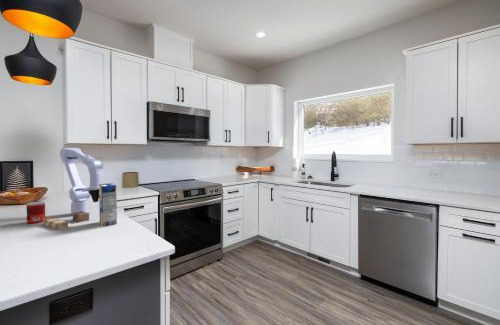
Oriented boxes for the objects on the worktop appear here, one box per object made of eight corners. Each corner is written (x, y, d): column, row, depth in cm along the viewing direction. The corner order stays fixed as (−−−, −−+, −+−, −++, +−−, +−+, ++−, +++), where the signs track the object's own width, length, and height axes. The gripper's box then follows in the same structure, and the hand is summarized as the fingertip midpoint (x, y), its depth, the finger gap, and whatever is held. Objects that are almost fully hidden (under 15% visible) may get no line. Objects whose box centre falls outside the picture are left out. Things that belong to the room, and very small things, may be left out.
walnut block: (72, 220, 144) (72, 213, 144) (81, 218, 149) (81, 211, 148) (79, 222, 140) (79, 214, 140) (89, 220, 145) (89, 213, 144)
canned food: (48, 220, 143) (48, 201, 143) (35, 224, 136) (35, 204, 135) (37, 219, 144) (36, 201, 144) (23, 223, 136) (22, 204, 136)
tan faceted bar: (43, 224, 135) (43, 219, 135) (52, 222, 139) (52, 217, 139) (59, 229, 127) (59, 224, 126) (68, 227, 130) (68, 222, 130)
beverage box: (102, 226, 133) (102, 186, 132) (99, 221, 142) (99, 184, 141) (116, 224, 137) (116, 185, 136) (112, 220, 146) (112, 183, 145)
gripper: (86, 181, 143) (86, 204, 143) (110, 179, 155) (111, 200, 156) (79, 180, 146) (80, 203, 147) (104, 178, 159) (104, 199, 159)
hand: (95, 201), depth 151 cm, fingers closed
